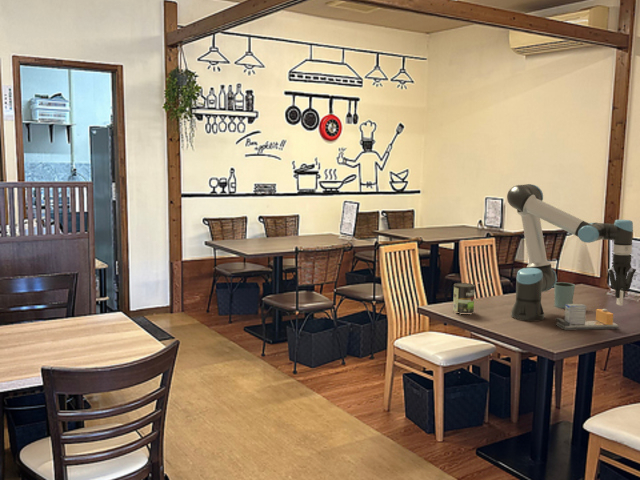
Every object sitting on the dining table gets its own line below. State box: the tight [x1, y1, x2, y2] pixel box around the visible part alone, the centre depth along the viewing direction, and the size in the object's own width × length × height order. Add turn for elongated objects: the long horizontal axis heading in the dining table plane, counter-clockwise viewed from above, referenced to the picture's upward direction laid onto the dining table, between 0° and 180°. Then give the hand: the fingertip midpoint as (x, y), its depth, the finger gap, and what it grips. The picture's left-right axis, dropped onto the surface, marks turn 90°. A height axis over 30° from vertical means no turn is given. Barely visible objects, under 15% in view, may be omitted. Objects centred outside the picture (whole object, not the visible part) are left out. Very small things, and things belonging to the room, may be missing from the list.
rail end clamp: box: [595, 308, 614, 325], centre depth 283 cm, size 3×9×6 cm, turn 6°
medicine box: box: [564, 303, 587, 324], centre depth 282 cm, size 8×4×9 cm, turn 94°
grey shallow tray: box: [555, 317, 620, 331], centre depth 283 cm, size 26×9×3 cm, turn 96°
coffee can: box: [452, 282, 476, 314], centre depth 308 cm, size 10×10×14 cm
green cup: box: [553, 281, 576, 310], centre depth 320 cm, size 10×10×12 cm
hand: (619, 304), depth 283 cm, fingers closed
